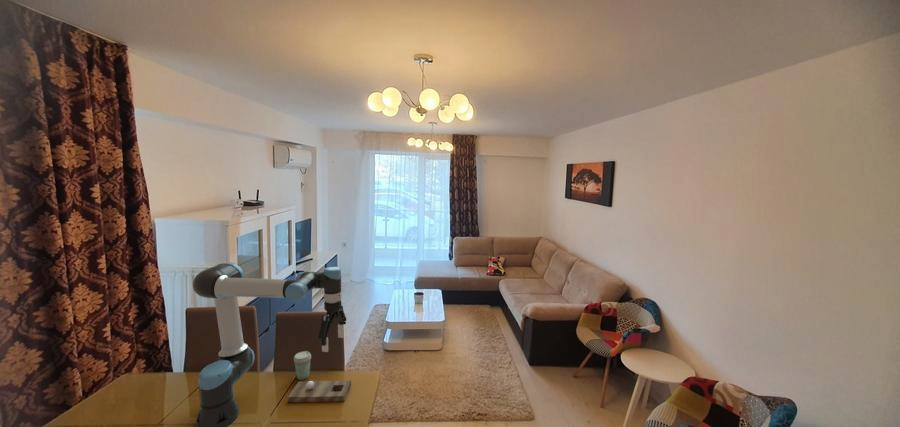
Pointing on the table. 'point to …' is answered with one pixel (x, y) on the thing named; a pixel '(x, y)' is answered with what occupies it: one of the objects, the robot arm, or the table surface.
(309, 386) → the ball
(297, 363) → the coffee cup
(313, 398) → the deck
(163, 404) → the table surface
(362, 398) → the table surface
